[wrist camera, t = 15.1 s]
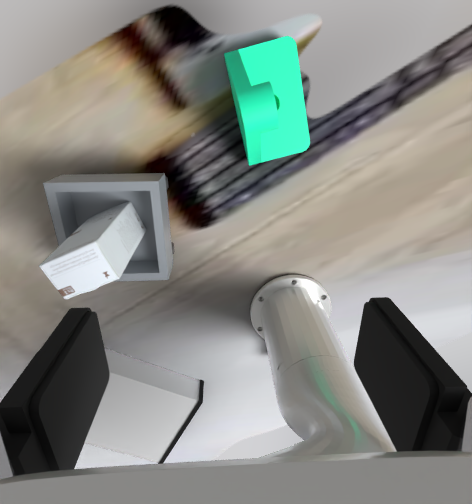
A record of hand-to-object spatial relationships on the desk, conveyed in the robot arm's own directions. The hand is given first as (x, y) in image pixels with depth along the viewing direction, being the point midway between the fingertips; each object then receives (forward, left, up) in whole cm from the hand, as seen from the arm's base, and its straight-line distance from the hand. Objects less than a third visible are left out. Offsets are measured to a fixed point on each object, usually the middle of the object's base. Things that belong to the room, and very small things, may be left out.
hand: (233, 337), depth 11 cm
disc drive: (-39, +18, -34) cm, 55 cm away
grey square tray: (-6, +13, -33) cm, 36 cm away
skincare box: (-6, +13, -30) cm, 33 cm away
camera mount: (+7, -6, -34) cm, 35 cm away
